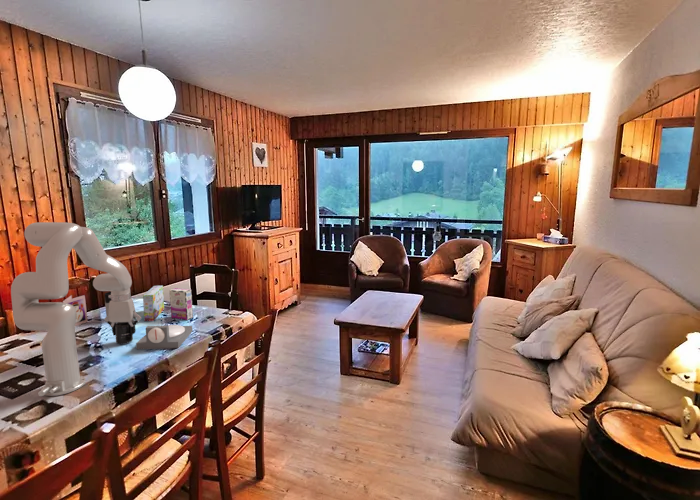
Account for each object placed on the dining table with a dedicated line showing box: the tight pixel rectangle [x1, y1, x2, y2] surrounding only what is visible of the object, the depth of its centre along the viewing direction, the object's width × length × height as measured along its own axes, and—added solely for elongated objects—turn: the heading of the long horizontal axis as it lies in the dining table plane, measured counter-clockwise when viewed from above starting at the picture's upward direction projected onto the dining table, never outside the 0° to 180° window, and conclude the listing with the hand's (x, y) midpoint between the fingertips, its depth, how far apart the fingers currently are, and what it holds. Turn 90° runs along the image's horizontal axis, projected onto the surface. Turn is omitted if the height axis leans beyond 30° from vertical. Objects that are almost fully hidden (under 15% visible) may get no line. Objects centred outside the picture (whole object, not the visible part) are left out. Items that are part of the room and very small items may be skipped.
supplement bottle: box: [114, 322, 134, 345], centre depth 170 cm, size 7×7×12 cm
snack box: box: [142, 285, 165, 322], centre depth 208 cm, size 21×6×15 cm, turn 13°
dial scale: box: [135, 324, 193, 350], centre depth 173 cm, size 21×18×10 cm
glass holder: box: [104, 291, 111, 318], centre depth 200 cm, size 9×14×15 cm, turn 88°
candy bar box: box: [169, 287, 194, 321], centre depth 203 cm, size 11×5×16 cm, turn 73°
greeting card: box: [62, 294, 88, 327], centre depth 191 cm, size 11×7×15 cm, turn 165°
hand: (124, 333), depth 171 cm, fingers closed on supplement bottle, 6 cm apart
